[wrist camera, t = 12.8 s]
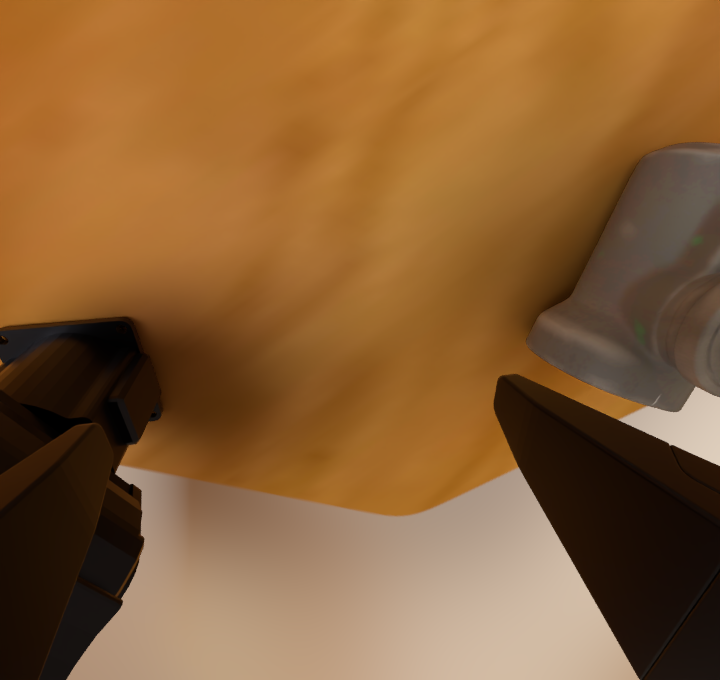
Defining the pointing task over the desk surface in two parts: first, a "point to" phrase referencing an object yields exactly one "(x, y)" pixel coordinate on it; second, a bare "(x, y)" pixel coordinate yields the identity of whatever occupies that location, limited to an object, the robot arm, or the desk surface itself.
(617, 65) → the desk surface
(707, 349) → the pipe fitting
